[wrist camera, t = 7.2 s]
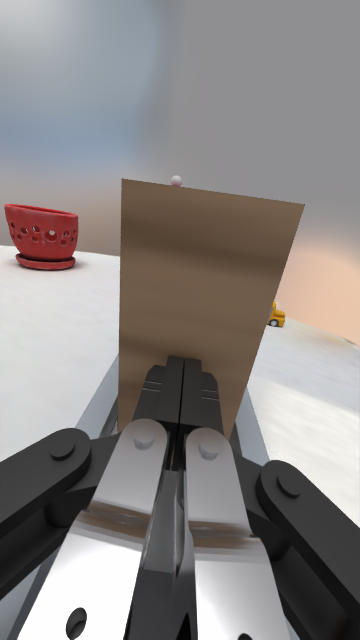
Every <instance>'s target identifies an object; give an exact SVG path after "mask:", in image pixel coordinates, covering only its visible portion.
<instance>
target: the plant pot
mask: <svg viewBox="0 0 360 640" xmlns="http://www.w3.org/2000/svg"><path fill="white" fill-rule="evenodd" d="M4 206H5V215H6V220H7V222H8V225H9V230H10V235H11V238H12V240H13V242H14V244H15V246H16V247H17V249H18V250H19V252H20V253H19V254H17V255H16V259H17V261H18V262H19V263H21V264H22V265H24V266H27V267H30V268H35V269H45V270H58V269H65V268H68V267H71V266H72V265H73V264H74V263H75V258H74V257H72V255H73V253H74V251H75V248H76V245H77V238H78V216H77V215H76V214H72V213H68V212H64V211H59V210H53V209H46V208H40V207H33V206H26V205H17V204H5V205H4ZM33 227H34V228H35V231H34V230H33ZM26 229H27V231H28V233H27V231H26ZM50 230H51V231H54V232H55V234H54V235H50V233H49V231H50ZM66 234H67V235H66ZM65 235H66V236H65Z"/></svg>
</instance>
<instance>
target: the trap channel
mask: <svg viewBox="0 0 360 640" xmlns="http://www.w3.org/2000/svg"><path fill="white" fill-rule="evenodd" d="M118 371H119V353H118V355H117V357H116V358H115V360H114V362H113V364H112V365H111V367H110V369H109V370H108V372H107V374H106V375H105V377H104V379H103V381H102V382H101V384H100V386H99V387H98V389H97V391H96V392H95V394H94V396H93V398H92V399H91V401H90V403H89V404H88V406H87V408H86V409H85V411H84V413H83V415H82V416H81V418H80V420H79V421H78V423H77V425H76V426H75V428H77V429H80V430H83V431H84V432H86V433H87V434H88V436H89V438H90V440H91V439H97V438H104V437H109V435H110V433H111V430H112V428H113V425H114V423H115V421H116V418H117V416H118ZM229 444H230V446H231V447H232V448H233V450H234V451H236V452H237V453H238V454H239V455H241V456H243V457H244V458H246V459H248V460H251V461H253V462H255V463H257V464H259V465H261V466H264V465H265V463H267V462H268V461H270V460H269V457H268V454H267V450H266V447H265V444H264V441H263V437H262V434H261V431H260V428H259V425H258V421H257V418H256V415H255V412H254V409H253V405H252V402H251V399H250V396H249V392H248V389H247V386H246V389H245V392H244V395H243V398H242V401H241V404H240V407H239V411H238V414H237V417H236V420H235V423H234V426H233V429H232V432H231V435H230V438H229ZM61 546H62V545H61ZM61 546H60V547H59V548H58V549H56V550H55V551H54V552H53V553H52V554H51V555H50V556H49V557H48V558H47V559H46V560H44V561H43V562H42V563H41V564H40V565H39V566H38V567H37V568H36V569H35V570H34V571H32V572H31V573H30V574H29V575H28V576H27V577H26V578H25V579H24V580H23V581H21V582H20V583H19V584H18V585H17V586H16V587H15V588H14V589H13V590H12V591H11V592H9V593H8V594H7V595H6V596H5V597H4V598H3V599H2V600H1V601H0V640H17V639H18V637H19V635H20V633H21V631H22V628H23V626H24V624H25V622H26V620H27V618H28V616H29V614H30V612H31V610H32V607H33V605H34V603H35V601H36V599H37V597H38V595H39V593H40V591H41V589H42V586H43V584H44V582H45V580H46V578H47V576H48V574H49V572H50V570H51V567H52V565H53V563H54V561H55V559H56V557H57V555H58V553H59V551H60V549H61ZM172 591H173V574H170V573H164V572H157V571H150V570H143V575H142V580H141V585H140V591H139V596H138V601H137V606H136V611H135V616H134V621H133V626H132V631H131V636H130V640H170V618H171V601H172ZM284 617H285V616H284ZM285 621H286V625H287V628H288V632H289V636H290V639H291V640H300V639H299V637H298V636H297V634H296V632H295V631H294V629H293V628H292V626H291V625H290V623H289V622H288V620H287V619H286V617H285Z"/></svg>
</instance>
